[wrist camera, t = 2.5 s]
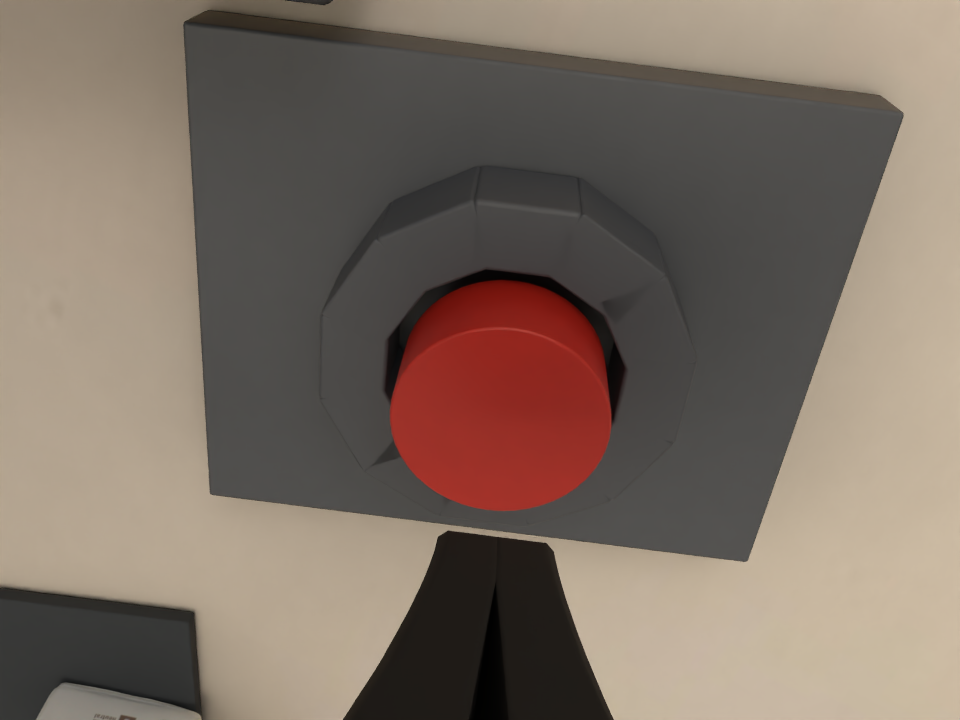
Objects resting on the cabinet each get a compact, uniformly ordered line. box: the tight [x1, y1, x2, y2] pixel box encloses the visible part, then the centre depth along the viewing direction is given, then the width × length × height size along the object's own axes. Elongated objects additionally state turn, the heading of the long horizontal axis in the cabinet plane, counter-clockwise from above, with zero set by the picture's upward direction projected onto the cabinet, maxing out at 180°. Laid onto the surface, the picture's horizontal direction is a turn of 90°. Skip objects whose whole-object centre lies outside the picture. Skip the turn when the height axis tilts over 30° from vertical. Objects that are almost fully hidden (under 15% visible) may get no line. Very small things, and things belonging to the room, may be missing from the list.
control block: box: [183, 10, 904, 562], centre depth 17 cm, size 12×10×3 cm
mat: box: [0, 588, 202, 720], centre depth 26 cm, size 10×10×1 cm
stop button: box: [390, 280, 612, 511], centre depth 15 cm, size 4×4×2 cm
